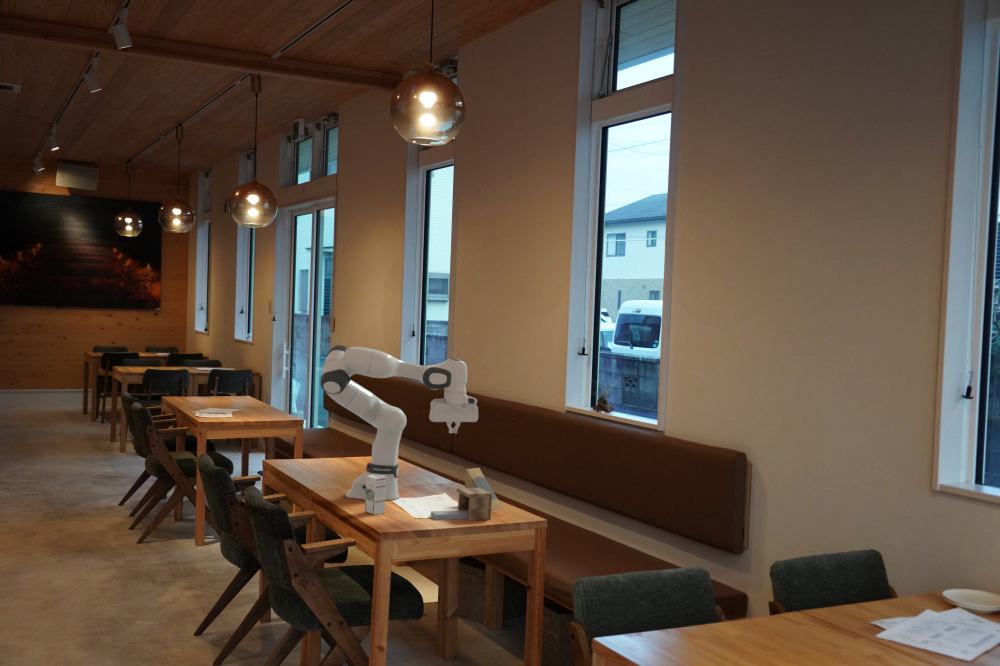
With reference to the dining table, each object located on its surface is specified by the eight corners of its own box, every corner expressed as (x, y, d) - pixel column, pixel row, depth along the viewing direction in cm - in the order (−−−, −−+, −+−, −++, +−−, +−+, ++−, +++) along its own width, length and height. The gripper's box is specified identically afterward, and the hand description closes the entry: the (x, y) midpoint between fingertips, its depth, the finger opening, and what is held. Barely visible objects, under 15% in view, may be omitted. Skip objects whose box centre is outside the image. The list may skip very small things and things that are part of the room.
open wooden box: (466, 520, 333) (468, 494, 333) (455, 514, 343) (456, 488, 343) (490, 519, 337) (492, 493, 337) (478, 512, 347) (480, 487, 347)
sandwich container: (491, 511, 352) (493, 474, 352) (463, 504, 362) (465, 469, 362) (504, 509, 359) (506, 472, 358) (476, 502, 368) (479, 467, 368)
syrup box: (385, 513, 337) (387, 476, 337) (373, 515, 332) (375, 477, 332) (375, 510, 341) (377, 473, 341) (363, 512, 336) (365, 475, 336)
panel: (435, 521, 331) (436, 514, 331) (430, 517, 337) (431, 511, 337) (483, 519, 339) (484, 513, 339) (478, 515, 345) (478, 509, 345)
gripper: (433, 399, 342) (431, 434, 342) (480, 399, 351) (478, 434, 351) (428, 397, 347) (426, 431, 348) (474, 398, 356) (472, 431, 357)
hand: (452, 433), depth 349 cm, fingers closed
